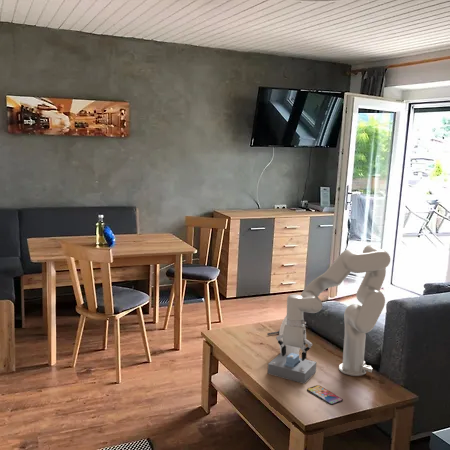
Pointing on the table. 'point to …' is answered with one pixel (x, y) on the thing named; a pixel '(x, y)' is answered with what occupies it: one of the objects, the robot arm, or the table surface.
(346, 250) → the robot arm
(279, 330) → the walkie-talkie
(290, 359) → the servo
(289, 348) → the bottle
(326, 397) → the smartphone
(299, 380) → the plate
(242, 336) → the table surface
